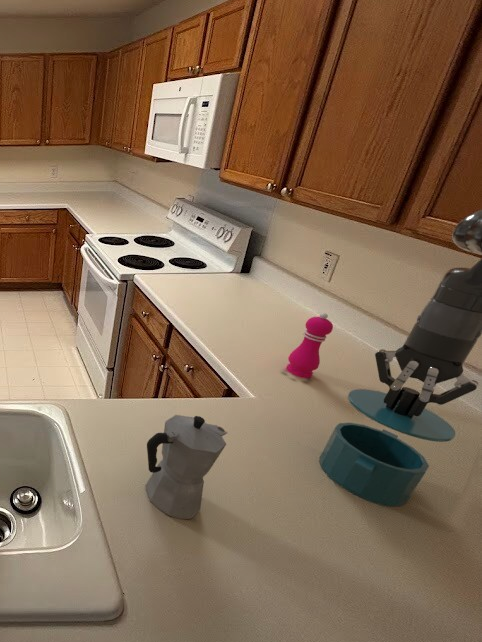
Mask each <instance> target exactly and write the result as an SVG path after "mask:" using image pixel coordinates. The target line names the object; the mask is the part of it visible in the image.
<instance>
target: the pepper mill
mask: <svg viewBox="0 0 482 642" xmlns="http://www.w3.org/2000/svg"><path fill="white" fill-rule="evenodd" d="M328 317H329V315H328V313H326V312H320V314H319V316H312V317H310V318H307V321H306V322H305V325H304V326H305V329H306V330H304V333H303V340H302V341H301V343H300V344H299V346H297V347H295V349H293V350H292V351H291V352H290V354H289V355H288V359H287V360H288V362H289V363H288V364H287V365H286V367H285V370H286V371H287V372H288V373H290V374H291V375H294V376H296V377H299V378H302V379H311V378H312V377H313V374H314V373H313V372H314V371H315V370H317V369H318V368H319V366H320V365H321V364H320V363H321V357H320V348H321V345H322V344H323V342H325V341H326V339H327V335H330V334H331V333H332V331H333V329H334V325H333V323H332V322H331V321H330V320H329V319H328Z"/></svg>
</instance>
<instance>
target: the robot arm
mask: <svg viewBox="0 0 482 642" xmlns="http://www.w3.org/2000/svg"><path fill="white" fill-rule="evenodd" d="M451 240H452V242H453V243H454V245H456V247H458V248H459V249H461V250H463V251H465V252H467V253H468V252H469V253H471V254H476V255H479V256H482V209H479V210H476V211H474V212H473V213H470V214H468V215H467V216H465V217H463V219H461V220H460V221H459V222H458V223H457V224H456V225H455V227H454V228H453V230H452V234H451ZM481 336H482V257H481V258H480V259H479V260H478V261H477V262H476V263H475V264H473V266H471V267H453V268H450V269H449V270H447V271H446V272H445V273H444V275H443V276H442V277H441V279H440V281H439V283H438V285H437V287H436V288H435V290H434V292H433V294H432V295H431V298H430V299H429V301H428V302H427V303H426V305H425V306H424V307H423V309H422V310H421V312H420V314H419V315H418V316H417V318H416V321H415V323H414V324H413V327H412V328H411V330H410V332H409V334H408V337H407V338H406V340H405V342H404V343H403V345H402V346H401V347H399V348H397V349H396V350H386V349H379V350H378V351H377V352H375V354H374V357H375V362H376V368H377V373H378V379H379V382H380V383H382V384H385V385H386V386H387V387H389V389H388V391H387V392H386V393H387V395H386V397H385V398H384V403H386V404H387V405H386V407H388V408H390V409H391V407H392V405H393V404H394V402H395V400H396V398H397V397H398V395H399V393H400V391H401V389H402V388H403V387H404V385H405V384H406V382H407V381H408V380H409V379H410V378H411V379H416V380H418V381H420V382H422V383H423V384H422V387H421V391H420V395H419V397H418V398H417V399H416V401H415V403H414V404H413V406H412V408H411V410H410V411H409V413H408V415H407V416H409V417H411V418H412V417H413V416H414V415H415V416H417V417H418V416H419V415H421V413H422V412H423V410H424V408H425V409H426V407H427V405H428V404H429V403H432V404H437V405H439V406H442V405H445V404H448V403H449V402H451V401H454V400H456V399H458V398H460V397H463V396H465V395H467V394H470V393H472V392H474V391H475V390H477V388H478V387H479V382H478V381H477V380H475V379H470V378H469V377H468V376H467V375H465V374H464V367H463V365H464V363H465V361H466V360H467V358H468V356H469V355H470V353H471V352H472V350H473V348H474V347H475V346H476V344H477V342H478V340H479V339H480V337H481ZM394 358H396V361H397V364H398V366H399V368H400V371H401V372H400V373H399V374H398V376H397V377H396V378H394V377H393V375H392V371H391V364H390V363H391V362H392V361H393V360H394ZM453 379H456V381H455V382H454V387H452V388H450V389H448V390H446V391H444V392H442V393H440V394H439V393H438V394H437V393H434V391H435V389H436V387H437V385H438V384H440V383H443V382H446V381H449V380H453Z"/></svg>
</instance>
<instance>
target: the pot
mask: <svg viewBox="0 0 482 642" xmlns="http://www.w3.org/2000/svg"><path fill="white" fill-rule="evenodd" d="M398 437H399V435H397V434H395V433H393V432H391V431H388V430H387V429H383V428H382V430H381V429H378V428H374V427H372V426H368V425H365V424H361V423H355V422H340V423H338V424H337V425H336V426H335V427H334V429H333V430H332V432H331V434H330V436H329V439H328V440H327V442H326V444H325V446H324V448H323V450H322V451H321V454H320V456H319V465H320V467H321V469H322V470H323V472H324V473H325V474H326V475H327V476H328V477H329V478H330V479H331V480H332V481H333V482H334V483H336V484H337V485H338V486H339V487H341V488H343V489H344V490H346V491H347V492H350V493H351V494H353V495H354V496H357V497H358V498H361V499H363V500H366V501H368V502H370V503H374V504H377V505H381V506H385V507H391V508H393V507H394V508H395V507H401V506H404V505H405V504H407V502H408V501H409V499H410V497H411V496H412V494H413V493H414V491H415V489H416V488H417V486H418V485H419V483H420V482H421V480H422V479H423V478H424V476H425V474H426V472H427V471H428V469H429V467H430V465H429V462H428V461H427V459H426V458H425V456H424V455H423V454H422V453H420V452H419V451H418V450H417V449H416V448H415V447H413V446H411V445H410V444H408V443H407V442H405V441H403V440H402V439H400V438H398Z"/></svg>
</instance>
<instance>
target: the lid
mask: <svg viewBox="0 0 482 642" xmlns="http://www.w3.org/2000/svg"><path fill="white" fill-rule="evenodd" d="M387 393H388V392H382V391H378V390H373V389H367V388H366V389H365V388H364V389H363V388H357V389H351V390H350V391H349V393H348V394H347V400H348V402H349V403H350V405H351V406H352V407H353V408H354V409H356V410H357V411H358V412H360V413H361V414H362V415H363V416H366V417H367V418H369V419H370V420H372V421H374V422H376V423H378V424H380V425H382V426H384V427H386V428H389V429H390V430H393V431H396V432H398V433H401V434H404V435H407V436H409V437H413V438H417V439H421V440H425V441H429V442H436V443H437V442H439V443H445V442H450V441H452V440H454V438H456V435H457V434H456V430H455V429H454V427H453V426H452V425H451V424H450V423H449V422H448V421H446V420H445V419H444V418H442V417H441V416H439V415H438V414H436V413H434V412H433V411H431V410H429V409H428V408H426V407H425V408H424V410H423V412H422V413H421V415H419V416H418V417H417V416H415V415H414V416H413V417H412V418H411V417H409V416H407V415H408V413H409V411H410V410H411V408H412V406H413V404H414V403H415V401H416V399H417V398H418V397H420V394H421V392H419V391H418V390H416V389H414V388H411V387H407V386H402V388H401V391H400V393H399V395H398V397H397V398H396V400H395V402H394V404H393V405H392V407H391V409H390V408H388V407H386V405H387V404H386V403H384V398H385V397H386V395H387Z"/></svg>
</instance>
